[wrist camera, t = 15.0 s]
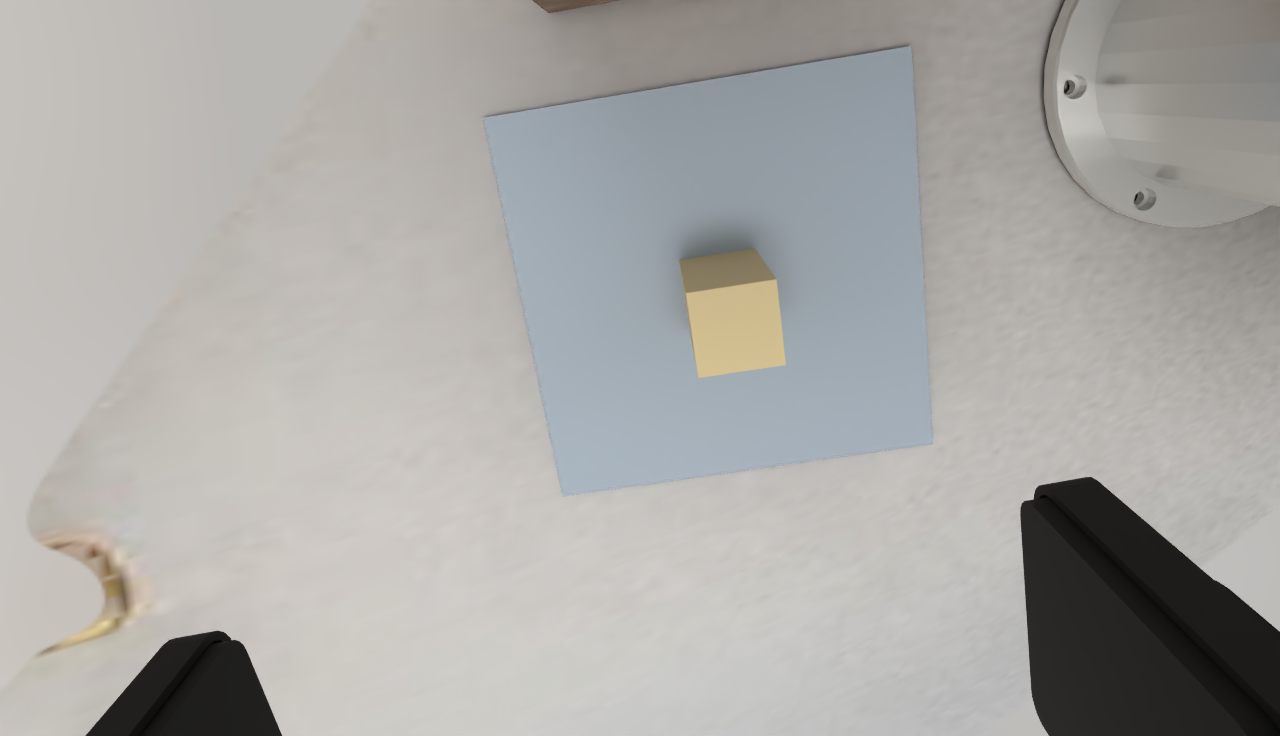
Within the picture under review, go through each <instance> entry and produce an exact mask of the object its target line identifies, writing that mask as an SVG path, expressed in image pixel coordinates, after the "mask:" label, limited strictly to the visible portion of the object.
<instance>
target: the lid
mask: <svg viewBox="0 0 1280 736" xmlns="http://www.w3.org/2000/svg"><path fill="white" fill-rule="evenodd" d="M483 120H484V124H485V129H486V134H487V139H488V143H489V148H490V153H491V158H492V163H493V167H494V172H495V177H496V182H497V186H498V191H499V196H500V201H501V205H502V210H503V215H504V220H505V224H506V229H507V234H508V239H509V243H510V248H511V253H512V258H513V263H514V267H515V272H516V277H517V282H518V286H519V291H520V296H521V301H522V305H523V310H524V315H525V320H526V324H527V329H528V334H529V339H530V344H531V348H532V353H533V358H534V363H535V367H536V372H537V377H538V382H539V386H540V391H541V396H542V401H543V405H544V410H545V415H546V420H547V425H548V429H549V434H550V439H551V444H552V448H553V453H554V458H555V463H556V467H557V472H558V477H559V482H560V486H561V491H562V496H570V495H577V494H584V493H591V492H598V491H605V490H612V489H619V488H626V487H633V486H640V485H647V484H655V483H662V482H669V481H676V480H683V479H690V478H697V477H704V476H711V475H718V474H725V473H732V472H739V471H746V470H753V469H760V468H767V467H774V466H781V465H788V464H795V463H802V462H809V461H816V460H823V459H831V458H838V457H845V456H852V455H859V454H866V453H873V452H880V451H887V450H894V449H901V448H908V447H915V446H922V445H929V444H933V442H932V423H931V404H930V385H929V366H928V347H927V328H926V309H925V290H924V271H923V251H922V232H921V213H920V194H919V175H918V156H917V137H916V118H915V99H914V80H913V61H912V46H907V47H901V48H895V49H889V50H883V51H877V52H871V53H865V54H859V55H853V56H848V57H842V58H836V59H830V60H824V61H818V62H812V63H806V64H800V65H794V66H788V67H782V68H776V69H770V70H764V71H758V72H752V73H746V74H740V75H734V76H728V77H723V78H717V79H711V80H705V81H699V82H693V83H687V84H681V85H675V86H669V87H663V88H657V89H651V90H645V91H639V92H633V93H627V94H621V95H615V96H609V97H603V98H598V99H592V100H586V101H580V102H574V103H568V104H562V105H556V106H550V107H544V108H538V109H532V110H526V111H520V112H514V113H508V114H502V115H496V116H490V117H484V118H483Z"/></svg>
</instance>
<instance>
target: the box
mask: <svg viewBox="0 0 1280 736" xmlns="http://www.w3.org/2000/svg"><path fill="white" fill-rule="evenodd" d="M533 1H534V2H535V3H537V4H538V5H539V6H541V7H542V8H543V9H544V10H546V11H547V12H548V13H551V12H557V11H562V10H568V9H573V8H579V7H584V6H590V5H595V4H601V3H606V2H612V1H617V0H533Z"/></svg>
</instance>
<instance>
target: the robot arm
mask: <svg viewBox="0 0 1280 736" xmlns="http://www.w3.org/2000/svg"><path fill="white" fill-rule="evenodd" d="M1066 81H1068V82H1069V85H1070V87H1069V90H1068V92H1067V93H1065V94H1064V90H1063V88H1064V84H1065V82H1066ZM1044 104H1045V111H1046V117H1047V124H1048V129H1049V132H1050V135H1051V137H1052V140H1053V143H1054V145H1055V148H1056V151H1057V153H1058V156H1059V158H1060V159H1061V161H1062V162H1063V164H1064V165H1065V167H1066V168H1067V170H1068V172H1069V173H1070V175H1071V176H1072V178H1073V179H1074V180H1075V181H1076V182H1077V183H1078V184H1079V185H1080V186H1081V187H1082V188H1083V189H1084V190H1085V191H1086V192H1087V193H1088V194H1089V195H1090V196H1091V197H1092V198H1093V199H1095V200H1097V201H1098V202H1100V203H1101V204H1103V205H1105V206H1106V207H1108V208H1110V209H1111V210H1113V211H1114V212H1116V213H1119V214H1122V215H1125V216H1128V217H1131V218H1134V219H1136V220H1139V221H1142V222H1147V223H1152V224H1156V225H1161V226H1165V227H1187V228H1199V227H1205V226H1211V225H1217V224H1224V223H1229V222H1232V221H1234V220H1237V219H1240V218H1243V217H1246V216H1249V215H1252V214H1255V213H1258V212H1260V211H1262V210H1263V209H1265V208H1267V207H1269V206H1271V205H1273V206H1278V207H1280V0H1065V2H1064V4H1063V7H1062V9H1061V12H1060V15H1059V17H1058V20H1057V22H1056V25H1055V27H1054V30H1053V32H1052V35H1051V40H1050V45H1049V49H1048V54H1047V58H1046V63H1045V73H1044ZM1137 193H1138V197H1137V200H1136V201H1135V202H1134V198H1135V195H1136V194H1137ZM1020 516H1021V532H1022V548H1023V563H1024V579H1025V595H1026V611H1027V627H1028V643H1029V659H1030V675H1031V690H1032V697H1033V701H1034V705H1035V708H1036V711H1037V714H1038V716H1039V719H1040V721H1041V723H1042V725H1043V727H1044V728H1045V730H1046V731H1047V733H1048V735H1049V736H1280V632H1279V631H1278V630H1277V629H1276V628H1274V627H1273V626H1272V625H1271V624H1270V623H1269V622H1267V621H1266V620H1265V619H1264V618H1263V617H1262V616H1260V615H1259V614H1258V613H1257V612H1256V611H1254V610H1253V609H1252V608H1251V607H1250V606H1249V605H1247V604H1246V603H1245V602H1244V601H1243V600H1241V599H1240V598H1239V597H1238V596H1237V595H1235V594H1234V593H1233V592H1232V591H1231V590H1230V589H1228V588H1227V587H1225V586H1224V585H1222V584H1220V583H1219V582H1217V581H1215V580H1213V579H1212V578H1211V577H1210V576H1208V575H1207V574H1206V573H1205V572H1204V571H1203V570H1201V569H1200V568H1199V567H1198V566H1197V565H1196V564H1194V563H1193V562H1192V561H1191V560H1190V559H1189V558H1187V557H1186V556H1185V555H1184V554H1183V553H1182V552H1180V551H1179V550H1178V549H1177V548H1176V547H1175V546H1173V545H1172V544H1171V543H1170V542H1169V541H1167V540H1166V539H1165V538H1164V537H1163V536H1162V535H1160V534H1159V533H1158V532H1157V531H1156V530H1155V529H1153V528H1152V527H1151V526H1150V525H1149V524H1148V523H1146V522H1145V521H1144V520H1143V519H1142V518H1141V517H1139V516H1138V515H1137V514H1136V513H1135V512H1134V511H1132V510H1131V509H1130V508H1129V507H1128V506H1127V505H1125V504H1124V503H1123V502H1122V501H1121V500H1119V499H1118V498H1117V497H1116V496H1115V495H1114V494H1112V493H1111V492H1110V491H1109V490H1108V489H1107V488H1105V487H1104V486H1103V485H1102V484H1101V483H1100V482H1098V481H1097V480H1095V479H1094V478H1092V477H1085V478H1079V479H1074V480H1068V481H1062V482H1057V483H1051V484H1045V485H1040V486H1038V487H1037V488H1036V490H1035V494H1034V500H1029V501H1024V502H1023V503H1022V505H1021V515H1020ZM86 736H282V734H281V732H280V730H279V727H278V725H277V722H276V720H275V718H274V715H273V713H272V710H271V708H270V706H269V703H268V701H267V698H266V696H265V694H264V691H263V689H262V687H261V684H260V682H259V679H258V677H257V675H256V672H255V670H254V667H253V665H252V663H251V660H250V658H249V655H248V653H247V651H246V649H245V647H244V645H243V644H242V643H240V642H239V641H236V640H231V638H230V637H229V636H228V635H227V634H226V633H224V632H221V631H214V632H208V633H202V634H197V635H191V636H185V637H180V638H175V639H171V640H169V641H168V642H166V643H165V644H164V645H163V646H162V647H161V648H160V649H159V651H158V652H157V653H156V654H155V655H154V656H153V658H152V659H151V660H150V661H149V662H148V663H147V665H146V666H145V667H144V668H143V669H142V670H141V672H140V673H139V674H138V675H137V676H136V678H135V679H134V680H133V681H132V682H131V683H130V685H129V686H128V687H127V688H126V689H125V690H124V692H123V693H122V694H121V695H120V696H119V697H118V699H117V700H116V701H115V702H114V703H113V704H112V706H111V707H110V708H109V709H108V710H107V711H106V713H105V714H104V715H103V716H102V717H101V718H100V720H99V721H98V722H97V723H96V724H95V725H94V727H93V728H92V729H91V730H90V731H89V732H88V734H87V735H86Z"/></svg>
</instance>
